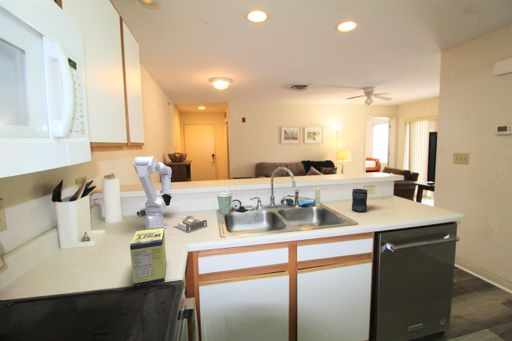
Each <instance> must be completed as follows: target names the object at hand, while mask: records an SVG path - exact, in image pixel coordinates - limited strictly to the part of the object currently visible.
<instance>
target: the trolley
mask: <svg viewBox="0 0 512 341" xmlns="http://www.w3.org/2000/svg"><path fill="white" fill-rule="evenodd" d="M200 220H201V219H200V218H198V217H194V214H190V215H185V216H183V217H182V223H183V224H185V225H190V224H193V223H197V222H200Z"/></svg>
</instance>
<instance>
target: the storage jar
mask: <svg viewBox="0 0 512 341" xmlns="http://www.w3.org/2000/svg"><path fill="white" fill-rule="evenodd" d="M351 192H352V194H351V198H352V202H351V211H352V212H353V213H358V214H365V213H367V209H368V204H367V202H368V201H367V200H368V189H365V188H364V189H363V188H352V191H351Z"/></svg>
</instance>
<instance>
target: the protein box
mask: <svg viewBox="0 0 512 341" xmlns="http://www.w3.org/2000/svg"><path fill="white" fill-rule="evenodd" d="M165 238H166V237H165V228H164V227H160V228H152V229H145V228H144V229H138V230H136V232H135V234H134V237H133V238H132V240H131V242H130V245H129V249H130V250H129V251H130V261H131V271H132V272H131V273H132V274H131V275H132V281H133V283H132V284H133V287H134V286H137V287H139V286H138V285H142V286H146V285H145V284H148V285H152V284H151V283H153V284H157V283H163V282H165V280H166V271H167V250H166V239H165Z"/></svg>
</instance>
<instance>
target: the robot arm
mask: <svg viewBox="0 0 512 341" xmlns="http://www.w3.org/2000/svg"><path fill="white" fill-rule="evenodd" d="M133 168H134V170H135V173H136V175H138V176H137V177H138V178H139V181H140V183H141V184H140V185H141V186H142V188H143V192H144V193H145V197H146V199H147V200H146V201H145V203H144V206H145V212H146V213H147V214H148V215H145V218H144V220H145V222H144V223H145V228H144V229H152V228H160V227H164V229H167V228H168V227H167V226H166V225H165V222H164V221H165V220H164V213H165V212H166V210H167V206H170V205H171V200H172V198H173V197H174V196H175V193H174V190H172V180H171V179H172V174H173V173H172V167H170V166H167V165H166V164H164V163H163V162H161V161H159V162H158V160H157V159H156V157H155V156H135V157H134V159H133ZM154 171H155V172H157V173H158V175H159V176H160V180H161V181H160V183H161V184H160V186H161V189H160V190H159V194H161V198H160V197H158V195H157V191H156V189H155V185H154V183H153V180H152V177H151V175H153V174H154ZM162 194H163V195H162Z"/></svg>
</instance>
